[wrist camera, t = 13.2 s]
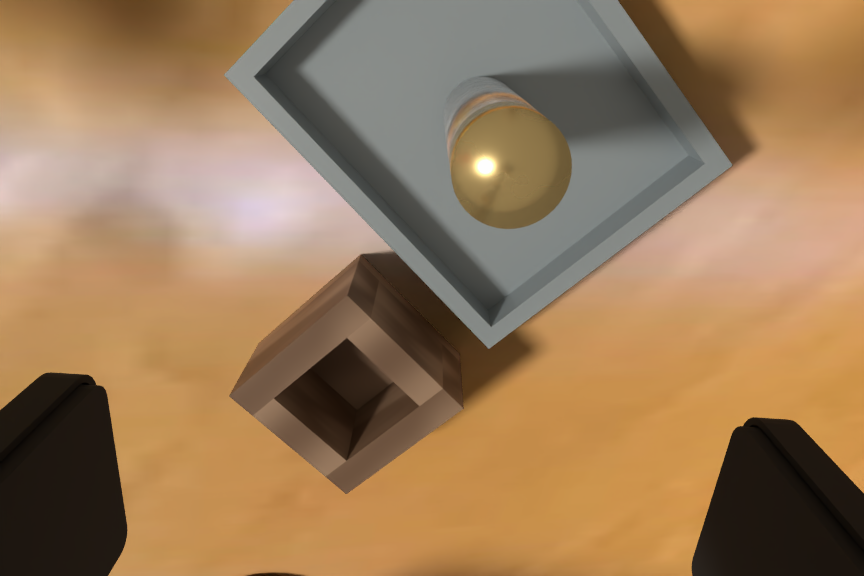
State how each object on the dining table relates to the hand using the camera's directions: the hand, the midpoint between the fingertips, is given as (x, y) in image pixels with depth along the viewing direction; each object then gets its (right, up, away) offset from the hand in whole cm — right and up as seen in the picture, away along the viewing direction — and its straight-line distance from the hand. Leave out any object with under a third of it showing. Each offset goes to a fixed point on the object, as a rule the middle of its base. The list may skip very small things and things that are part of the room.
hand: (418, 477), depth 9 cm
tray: (+3, +12, +24) cm, 27 cm away
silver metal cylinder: (+3, +12, +23) cm, 26 cm away
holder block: (-4, -1, +29) cm, 30 cm away
